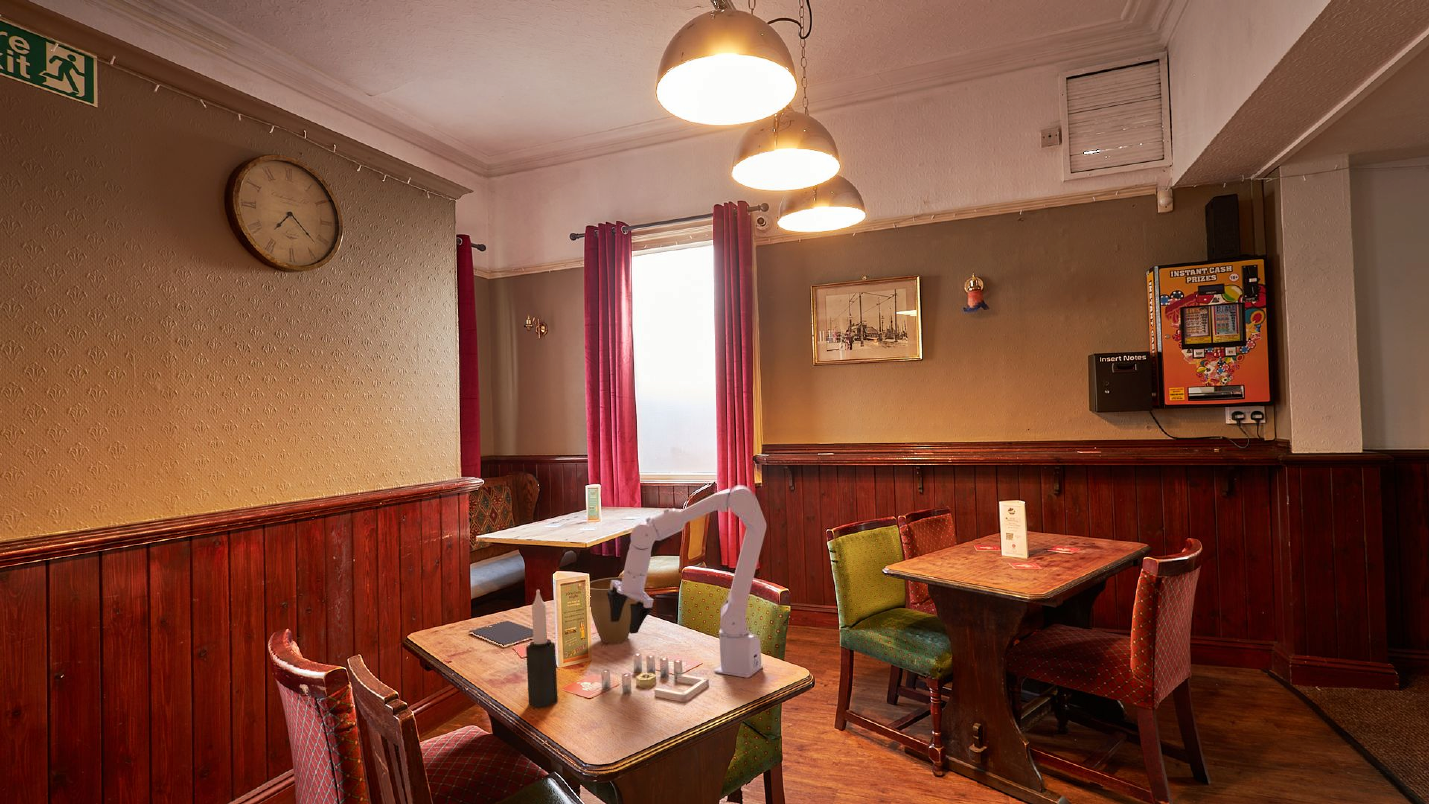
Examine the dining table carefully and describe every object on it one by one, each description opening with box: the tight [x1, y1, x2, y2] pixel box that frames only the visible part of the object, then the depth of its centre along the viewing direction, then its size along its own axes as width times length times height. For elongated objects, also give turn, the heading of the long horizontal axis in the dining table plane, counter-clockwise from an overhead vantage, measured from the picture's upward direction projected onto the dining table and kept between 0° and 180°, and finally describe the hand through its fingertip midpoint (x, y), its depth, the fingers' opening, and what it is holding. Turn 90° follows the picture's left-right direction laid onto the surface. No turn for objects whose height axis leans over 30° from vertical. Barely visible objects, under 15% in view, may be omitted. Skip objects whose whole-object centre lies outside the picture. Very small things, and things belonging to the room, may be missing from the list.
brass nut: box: [635, 672, 657, 689], centre depth 161 cm, size 4×5×2 cm
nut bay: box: [654, 674, 710, 703], centre depth 156 cm, size 8×10×2 cm
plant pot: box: [589, 576, 638, 645], centre depth 196 cm, size 15×15×16 cm
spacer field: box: [600, 652, 684, 696], centre depth 162 cm, size 14×14×4 cm
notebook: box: [468, 620, 533, 646], centre depth 205 cm, size 13×2×21 cm
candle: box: [525, 589, 559, 710], centre depth 154 cm, size 5×5×25 cm
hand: (623, 626), depth 168 cm, fingers open, 7 cm apart
